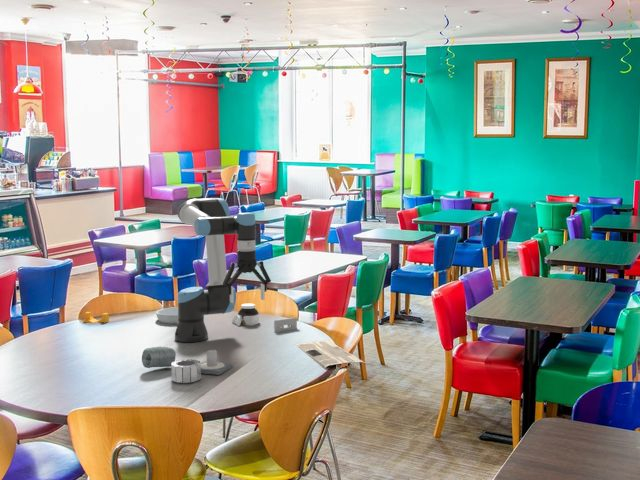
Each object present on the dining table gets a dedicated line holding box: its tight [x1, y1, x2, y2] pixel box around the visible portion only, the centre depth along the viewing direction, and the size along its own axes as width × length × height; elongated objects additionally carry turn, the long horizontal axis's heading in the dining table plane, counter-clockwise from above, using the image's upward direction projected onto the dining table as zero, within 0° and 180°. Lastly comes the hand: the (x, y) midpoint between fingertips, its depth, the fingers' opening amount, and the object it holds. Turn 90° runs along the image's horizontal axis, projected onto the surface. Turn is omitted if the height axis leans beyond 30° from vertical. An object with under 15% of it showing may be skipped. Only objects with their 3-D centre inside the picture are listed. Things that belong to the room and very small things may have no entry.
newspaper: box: [295, 340, 367, 370], centre depth 324 cm, size 37×19×3 cm, turn 20°
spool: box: [141, 346, 176, 369], centre depth 306 cm, size 14×10×10 cm
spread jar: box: [231, 302, 260, 327], centre depth 377 cm, size 12×11×12 cm
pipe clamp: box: [82, 311, 110, 324], centre depth 384 cm, size 12×4×6 cm, turn 73°
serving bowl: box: [155, 306, 178, 325], centre depth 387 cm, size 21×21×7 cm
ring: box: [171, 358, 202, 384], centre depth 293 cm, size 11×11×6 cm
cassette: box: [273, 317, 298, 333], centre depth 363 cm, size 12×2×8 cm, turn 122°
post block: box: [200, 349, 233, 376], centre depth 305 cm, size 12×12×8 cm
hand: (247, 301), depth 317 cm, fingers open, 13 cm apart
